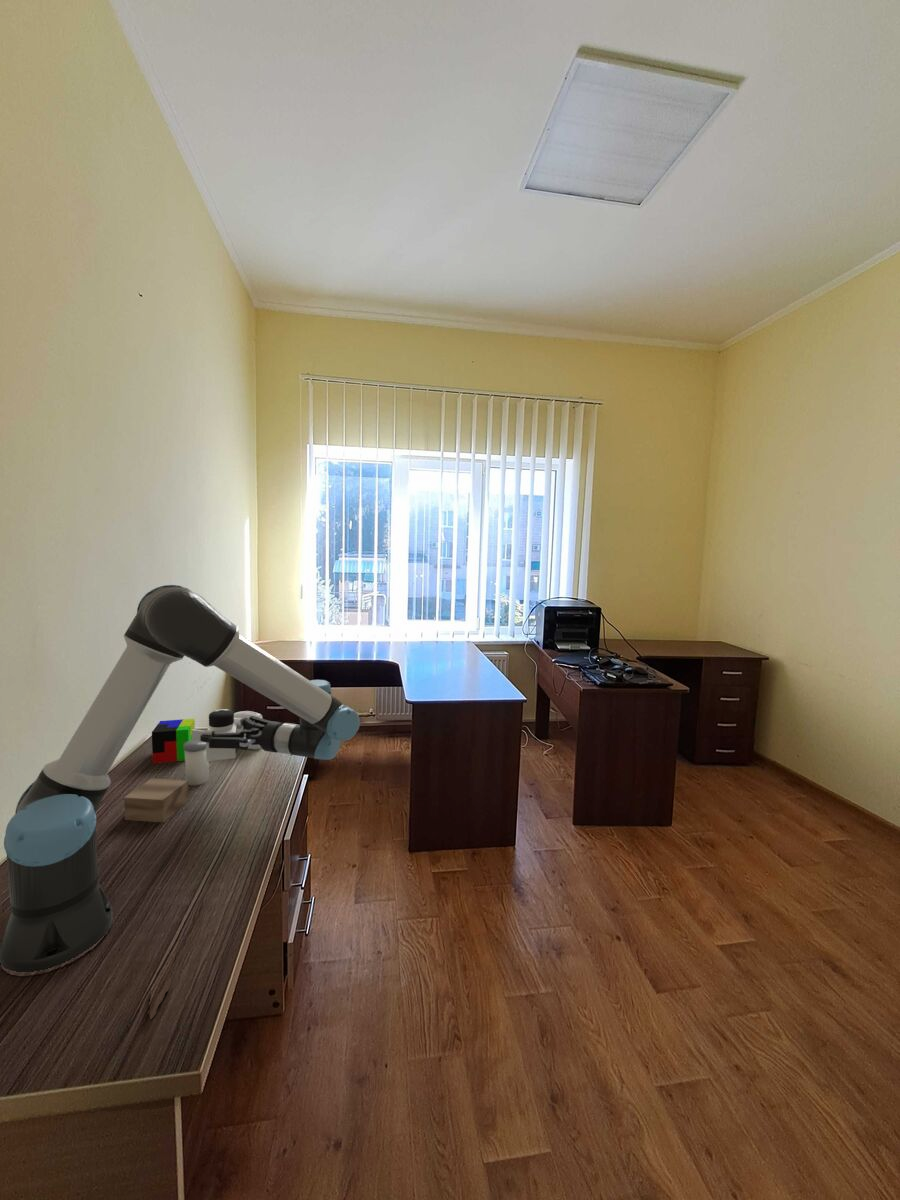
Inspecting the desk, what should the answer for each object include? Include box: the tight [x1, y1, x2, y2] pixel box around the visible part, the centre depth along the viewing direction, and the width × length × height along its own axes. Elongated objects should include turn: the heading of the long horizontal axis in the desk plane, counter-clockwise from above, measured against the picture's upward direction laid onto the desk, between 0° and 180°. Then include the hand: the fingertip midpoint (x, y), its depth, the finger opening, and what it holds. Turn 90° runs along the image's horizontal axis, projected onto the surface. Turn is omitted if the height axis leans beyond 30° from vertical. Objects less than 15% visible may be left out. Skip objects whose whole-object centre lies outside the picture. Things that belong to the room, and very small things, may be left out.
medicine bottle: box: [206, 708, 238, 762], centre depth 130 cm, size 7×7×12 cm
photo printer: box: [234, 710, 264, 750], centre depth 163 cm, size 10×4×12 cm, turn 85°
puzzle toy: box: [151, 718, 196, 764], centre depth 156 cm, size 10×10×10 cm
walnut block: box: [123, 777, 190, 823], centre depth 125 cm, size 10×10×6 cm
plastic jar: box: [184, 740, 210, 786], centre depth 140 cm, size 6×6×11 cm
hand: (207, 727), depth 131 cm, fingers closed on medicine bottle, 10 cm apart
